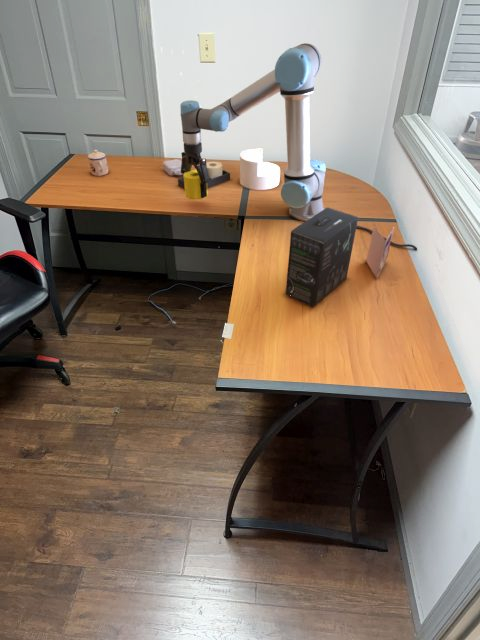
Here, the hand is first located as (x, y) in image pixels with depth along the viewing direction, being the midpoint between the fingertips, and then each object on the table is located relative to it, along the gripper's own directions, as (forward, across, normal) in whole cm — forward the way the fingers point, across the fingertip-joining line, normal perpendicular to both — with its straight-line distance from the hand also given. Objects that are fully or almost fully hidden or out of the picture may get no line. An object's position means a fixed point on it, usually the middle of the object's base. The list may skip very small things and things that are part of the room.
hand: (196, 193), depth 195 cm
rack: (+6, +17, -19) cm, 26 cm away
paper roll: (+6, +17, -25) cm, 31 cm away
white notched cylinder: (+6, -1, -40) cm, 40 cm away
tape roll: (+1, 0, 0) cm, 1 cm away
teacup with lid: (+5, +63, +13) cm, 65 cm away
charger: (+6, +36, -16) cm, 40 cm away
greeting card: (+7, -85, -14) cm, 86 cm away
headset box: (+7, -78, +10) cm, 79 cm away
